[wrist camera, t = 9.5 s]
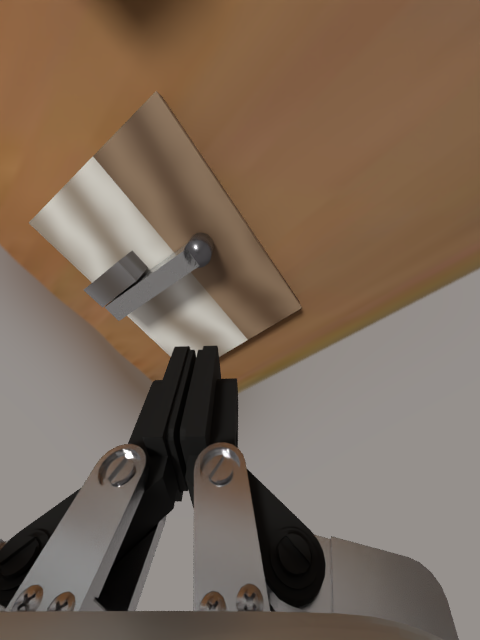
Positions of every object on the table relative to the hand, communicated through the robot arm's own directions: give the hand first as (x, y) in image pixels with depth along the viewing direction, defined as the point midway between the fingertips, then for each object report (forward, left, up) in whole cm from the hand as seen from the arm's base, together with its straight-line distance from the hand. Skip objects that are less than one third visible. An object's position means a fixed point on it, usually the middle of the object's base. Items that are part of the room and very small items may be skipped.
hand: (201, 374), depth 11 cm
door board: (+6, -1, -22) cm, 23 cm away
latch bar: (+7, -2, -20) cm, 21 cm away
